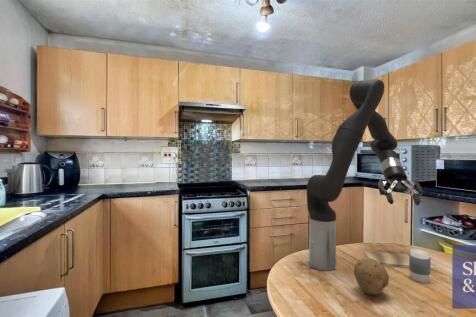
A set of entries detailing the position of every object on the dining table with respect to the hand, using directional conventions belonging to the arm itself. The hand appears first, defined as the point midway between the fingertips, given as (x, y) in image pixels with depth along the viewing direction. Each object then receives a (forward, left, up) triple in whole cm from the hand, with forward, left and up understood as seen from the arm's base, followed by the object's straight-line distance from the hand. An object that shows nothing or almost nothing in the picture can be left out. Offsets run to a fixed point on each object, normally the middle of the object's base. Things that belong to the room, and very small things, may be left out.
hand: (404, 203), depth 92 cm
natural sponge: (-18, -25, -23) cm, 38 cm away
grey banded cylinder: (0, -12, -23) cm, 25 cm away
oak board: (-2, +2, -23) cm, 23 cm away
